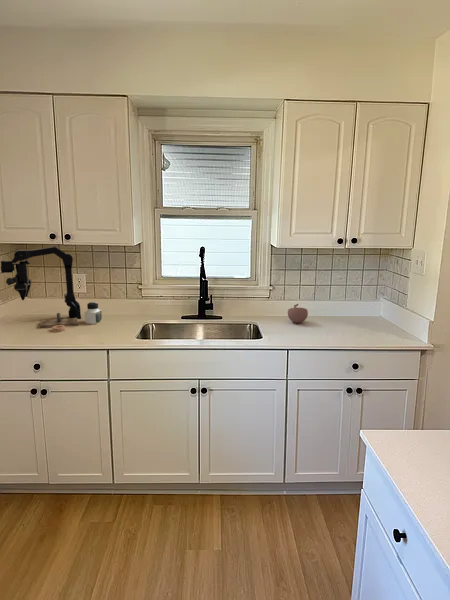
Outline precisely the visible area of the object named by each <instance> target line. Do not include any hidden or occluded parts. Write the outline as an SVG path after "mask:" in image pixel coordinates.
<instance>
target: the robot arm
mask: <svg viewBox="0 0 450 600" xmlns="http://www.w3.org/2000/svg"><path fill="white" fill-rule="evenodd" d="M13 255H14V257H13V258H12V259H11V260H1V261H0V272H1V274H9V273H13V272H14V271H15V276H12V277H7V278H6V280H5V284H7V286H11V285H13V284H14V286H13V289H14V290H15V291H17V292H18V294H19V297H20V298H21V301H25V299H26V298H27V297H28V295H29V291H30V289H31V287H32V284H33V283H32V279H31V278H29V273H28V265H30V264H31V261H28V259H30V258H33V257H34V258H35V257H39V256H44V255H45V256H47V255H55V256H57V257H58V258H59V259H62V263H63V266H64V274H65V285H66V293H63V296H64V303H65V305H66V306H67V307H69V308H68V318H77V320H79V319H82V314H81V306H80V303H79V301H77V300H76V295H75V292H74V284H73V272H72V271H73V270H72V269H73V268H72V267H73V260H74V258H73V256H72V254H70V253H69V252H64V251H63V250H61V249H59V248H58V247H57V246H54V245H53V246H50V247H44V248H36V249H19V250H18V249H17V250H16V251H15V252H14V254H13Z"/></svg>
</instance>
